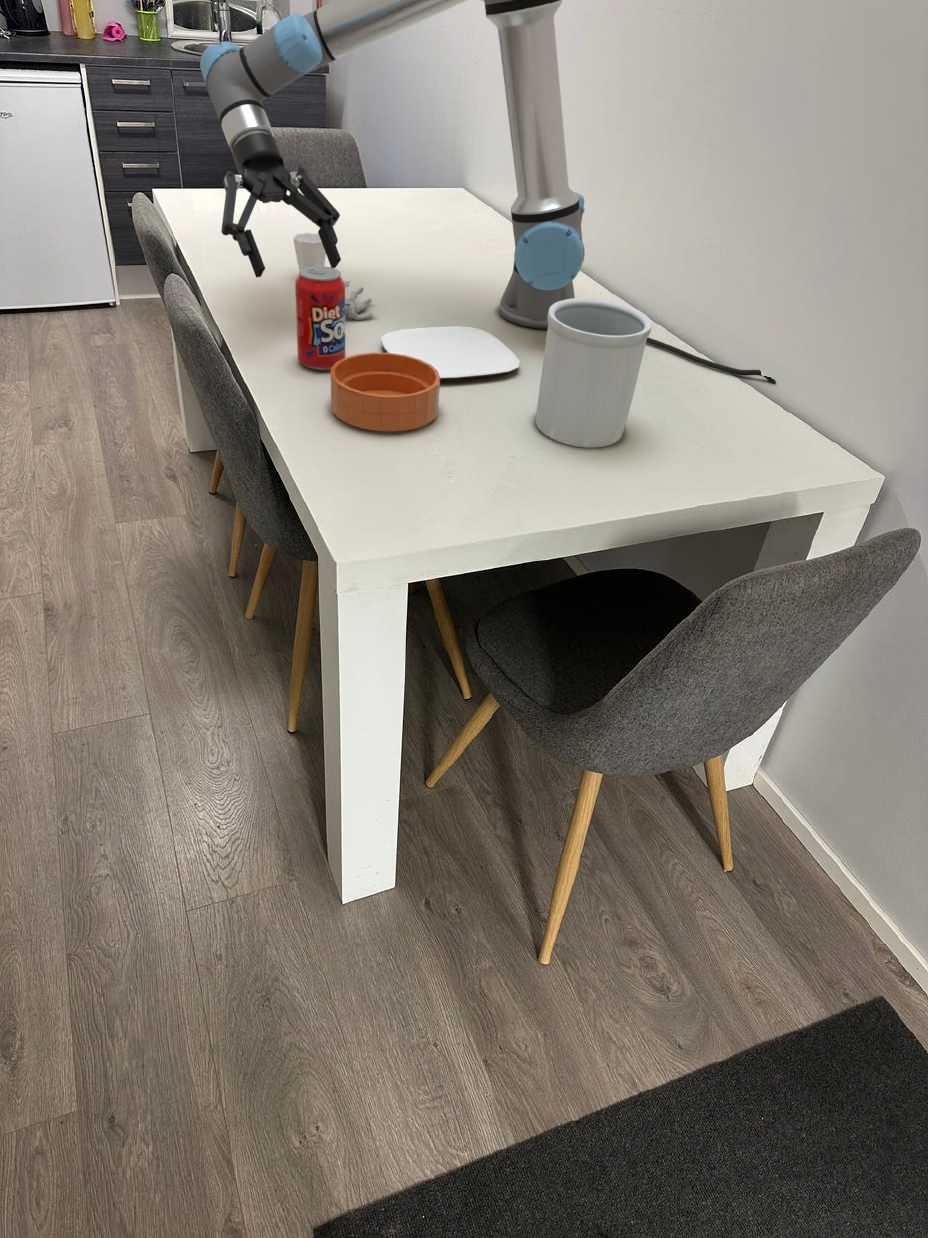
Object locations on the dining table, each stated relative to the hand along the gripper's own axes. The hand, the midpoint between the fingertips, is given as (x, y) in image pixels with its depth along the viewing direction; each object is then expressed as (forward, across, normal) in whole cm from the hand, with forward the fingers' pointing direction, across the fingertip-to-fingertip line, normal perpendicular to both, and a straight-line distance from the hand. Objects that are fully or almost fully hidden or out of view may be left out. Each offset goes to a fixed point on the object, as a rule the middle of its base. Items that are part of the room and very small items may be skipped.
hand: (299, 268), depth 141 cm
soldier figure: (+2, -17, -18) cm, 25 cm away
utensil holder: (+41, -24, +22) cm, 53 cm away
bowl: (+28, 0, +9) cm, 30 cm away
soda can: (+14, 0, -5) cm, 15 cm away
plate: (+19, -21, 0) cm, 29 cm away
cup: (-14, -20, -34) cm, 42 cm away
